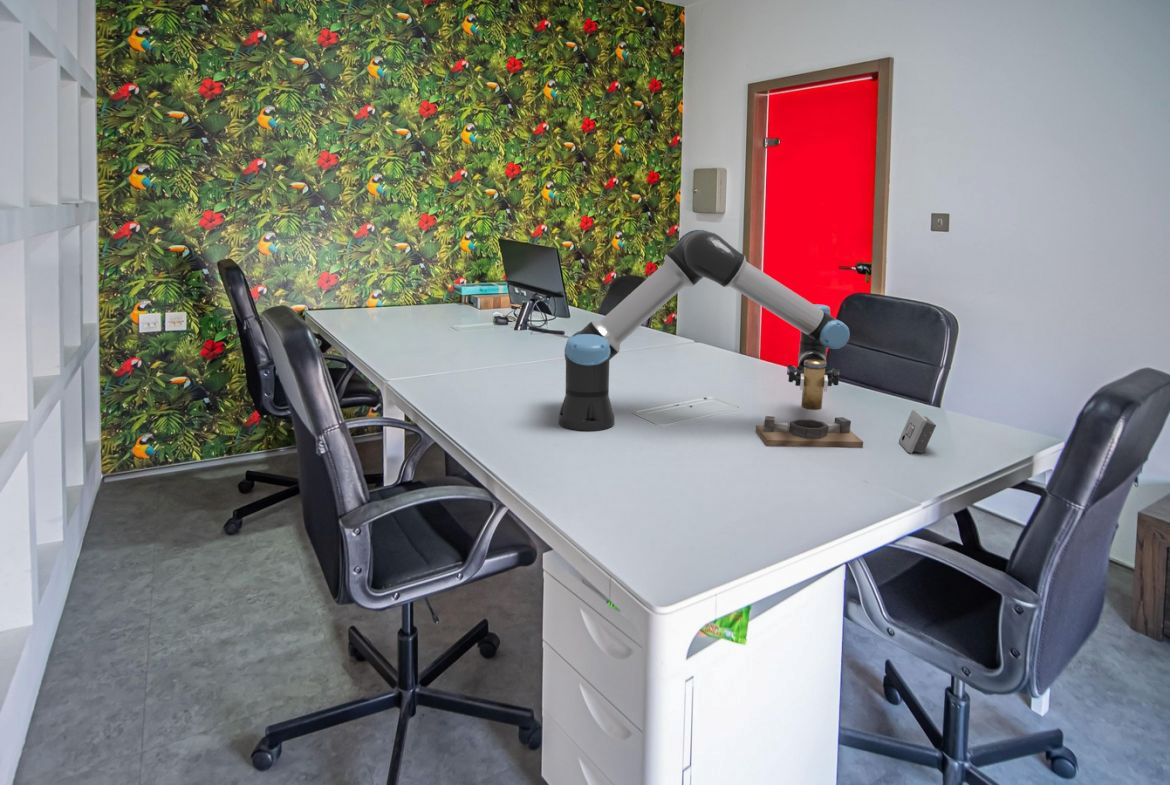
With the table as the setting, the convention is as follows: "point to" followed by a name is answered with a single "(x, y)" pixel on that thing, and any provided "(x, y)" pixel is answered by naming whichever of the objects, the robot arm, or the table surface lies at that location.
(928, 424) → the electrical switch
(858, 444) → the base
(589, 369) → the robot arm
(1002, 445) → the table surface
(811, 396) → the brass cylinder
